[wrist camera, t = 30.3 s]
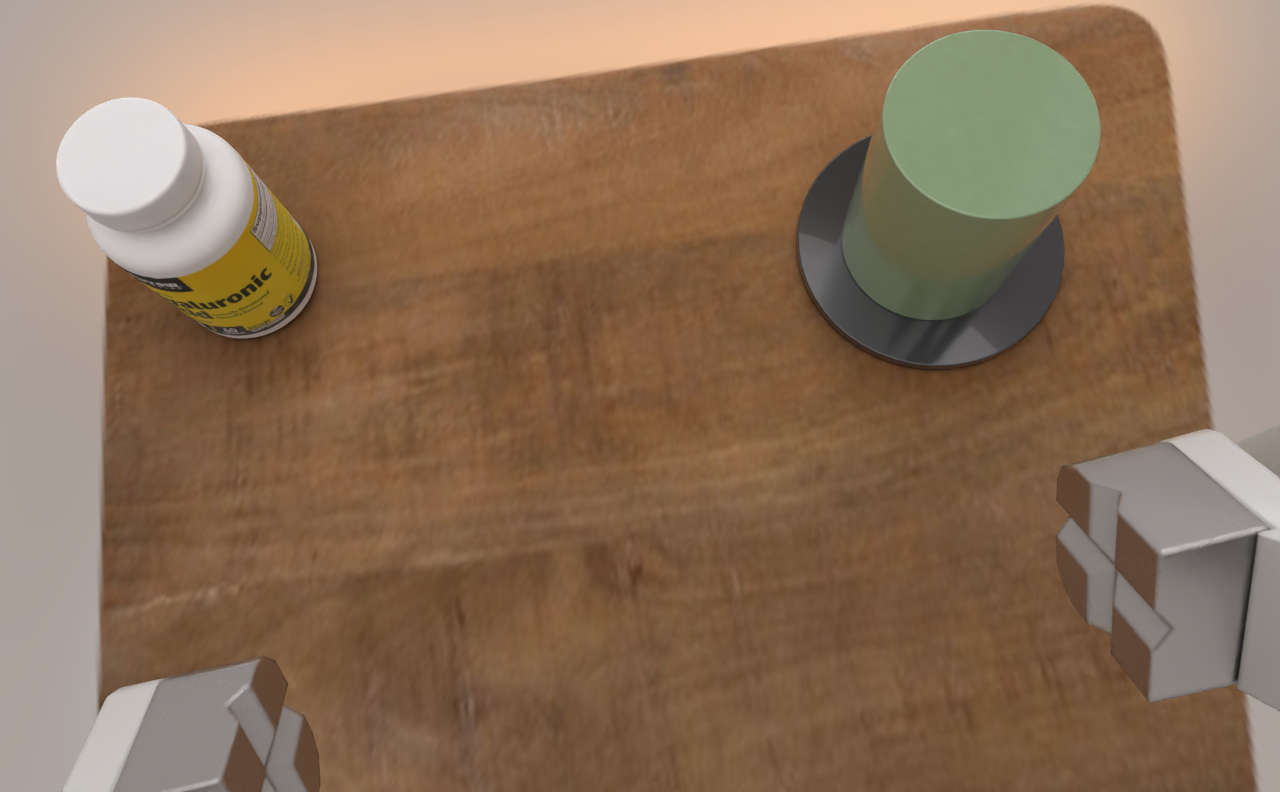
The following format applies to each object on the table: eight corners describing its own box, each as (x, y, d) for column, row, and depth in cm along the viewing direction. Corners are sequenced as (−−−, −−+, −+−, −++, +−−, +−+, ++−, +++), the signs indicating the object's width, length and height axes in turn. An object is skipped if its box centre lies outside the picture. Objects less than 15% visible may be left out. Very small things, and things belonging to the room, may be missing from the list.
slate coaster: (1017, 109, 40) (1021, 102, 39) (1094, 342, 37) (1099, 338, 36) (771, 156, 40) (772, 150, 39) (829, 393, 37) (831, 389, 36)
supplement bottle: (187, 352, 39) (24, 246, 29) (187, 225, 40) (33, 86, 31) (324, 333, 39) (207, 221, 29) (319, 207, 40) (206, 61, 31)
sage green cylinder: (985, 152, 39) (1064, 11, 31) (1033, 303, 37) (1130, 196, 29) (824, 182, 39) (859, 49, 31) (864, 335, 37) (913, 237, 29)
